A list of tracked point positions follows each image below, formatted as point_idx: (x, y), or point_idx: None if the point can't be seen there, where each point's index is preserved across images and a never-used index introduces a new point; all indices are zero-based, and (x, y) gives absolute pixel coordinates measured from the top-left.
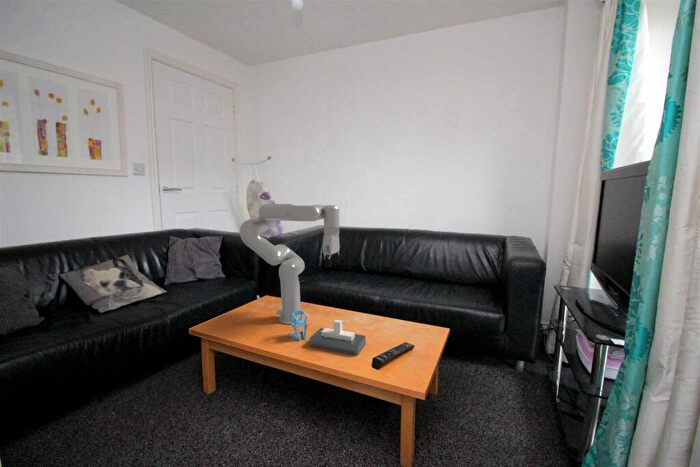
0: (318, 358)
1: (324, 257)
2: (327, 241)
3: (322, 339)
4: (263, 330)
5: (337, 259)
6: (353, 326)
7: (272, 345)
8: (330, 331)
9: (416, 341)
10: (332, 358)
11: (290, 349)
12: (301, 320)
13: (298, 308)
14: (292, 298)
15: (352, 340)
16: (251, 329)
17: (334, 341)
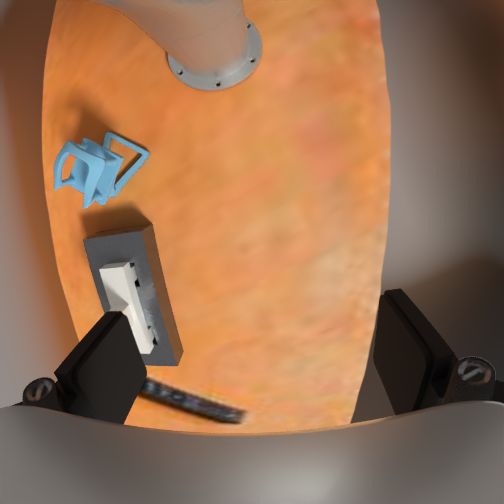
0: (74, 282)
1: (27, 396)
2: None
3: (93, 277)
4: (108, 46)
5: (387, 379)
6: (269, 282)
7: (56, 142)
8: (114, 293)
9: (258, 424)
10: (91, 308)
11: (63, 198)
12: (107, 167)
13: (204, 66)
14: (159, 43)
15: None
16: (102, 19)
17: (104, 310)
